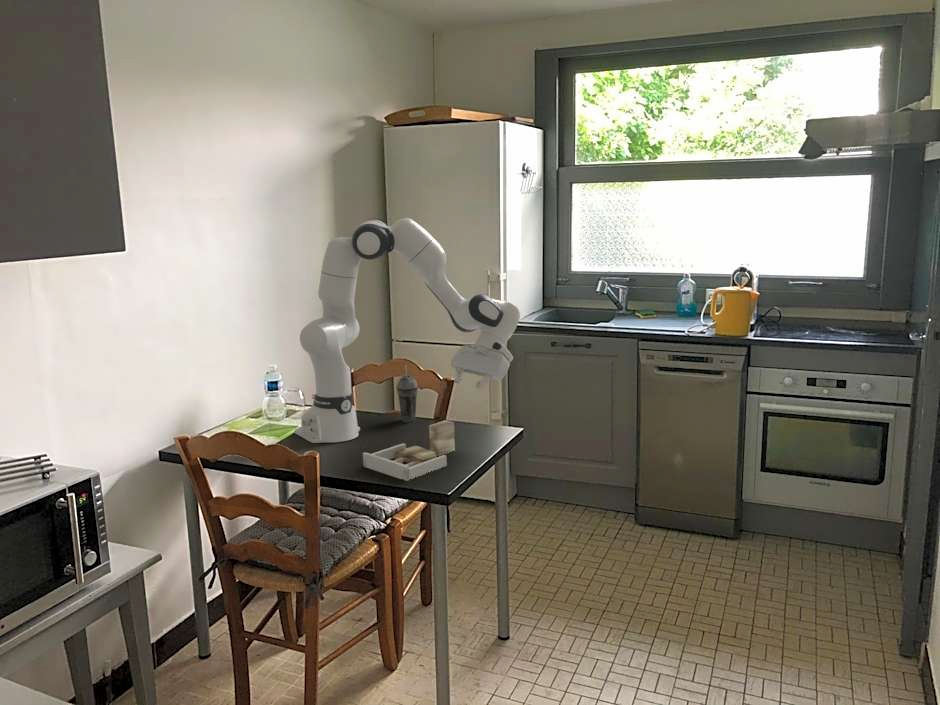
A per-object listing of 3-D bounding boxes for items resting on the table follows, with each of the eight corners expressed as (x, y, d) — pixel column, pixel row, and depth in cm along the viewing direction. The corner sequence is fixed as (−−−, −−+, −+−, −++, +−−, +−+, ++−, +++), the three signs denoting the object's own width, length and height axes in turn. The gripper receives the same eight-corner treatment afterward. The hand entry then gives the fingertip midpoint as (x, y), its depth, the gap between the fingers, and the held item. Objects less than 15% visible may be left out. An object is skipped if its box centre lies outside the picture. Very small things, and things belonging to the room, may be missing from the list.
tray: (363, 466, 223) (362, 453, 222) (403, 452, 234) (403, 440, 233) (406, 481, 211) (406, 466, 210) (446, 465, 222) (446, 452, 221)
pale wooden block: (430, 454, 232) (429, 425, 230) (446, 448, 237) (445, 420, 235) (438, 456, 230) (437, 427, 228) (454, 451, 235) (454, 422, 233)
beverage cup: (421, 417, 271) (419, 361, 267) (416, 423, 264) (415, 365, 260) (400, 417, 272) (398, 361, 268) (395, 423, 264) (393, 365, 260)
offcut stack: (394, 459, 229) (393, 447, 228) (408, 454, 233) (407, 442, 232) (427, 469, 219) (427, 457, 219) (441, 464, 223) (441, 452, 223)
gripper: (459, 337, 248) (437, 373, 243) (508, 347, 234) (486, 385, 230) (469, 348, 252) (448, 384, 248) (517, 358, 238) (496, 396, 234)
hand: (467, 385), depth 239 cm, fingers open, 8 cm apart
